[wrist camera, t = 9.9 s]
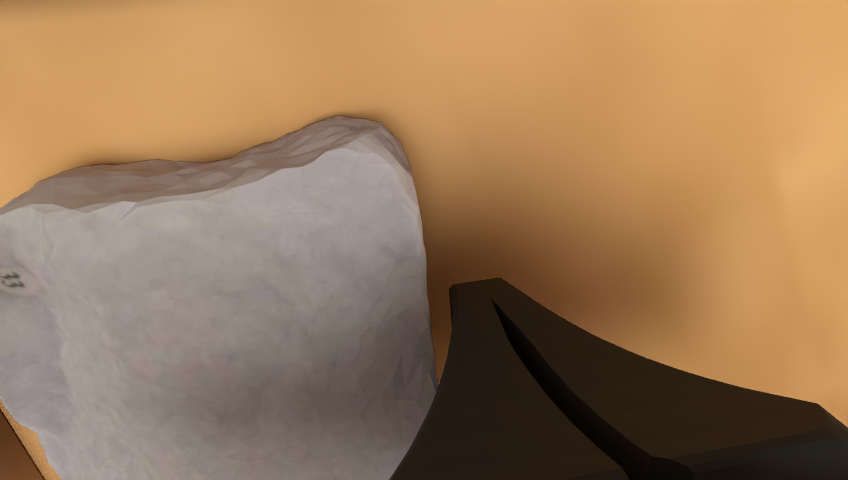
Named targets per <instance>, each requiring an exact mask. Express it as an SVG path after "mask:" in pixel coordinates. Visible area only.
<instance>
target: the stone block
mask: <svg viewBox="0 0 848 480" xmlns="http://www.w3.org/2000/svg"><path fill="white" fill-rule="evenodd" d="M437 389H438V380H437V374H436V368H435V359H434V351H433V341H432V331H431V321H430V311H429V303H428V296H427V263H426V251H425V246H424V239H423V228H422V221H421V215H420V210H419V205H418V200H417V195H416V190H415V186H414V182H413V178H412V175H411V170H410V165H409V161H408V158H407V156H406V155H405V154H404V150H403V146H402V144H401V143H400V142H399V140H398V139H397V138H396V137H395V136H394V135H393V134H392V133H391V132H390V131H389V130H388V129H387V128H386V127H385V126H384V125H383V124H381V123H380V122H376V121H372V120H367V119H359V118H352V117H346V116H341V115H339V116H335V117H332V118H329V119H325V120H322V121H319V122H316V123H313V124H310V125H308V126H306V127H304V128H303V129H301V130H299V131H297V132H292V133H288V134H286V135H284V136H282V137H281V138H279V139H277V140H275V141H272V142H267V143H263V144H260V145H257V146H254V147H251V148H249V149H246V150H244V151H241V152H239V153H238V154H237V155H236V156H235V157H234V158H229V159H224V160H219V161H214V162H210V163H200V162H187V161H170V160H160V159H154V160H146V161H139V162H132V163H127V164H118V165H106V164H99V165H94V166H82V167H78V168H74V169H70V170H67V171H64V172H61V173H59V174H57V175H54V176H52V177H49V178H47V179H44V180H41V181H39V182H38V183H37V184H35V185H34V186H33V187H32V188H31V189H30V190H29V191H27V192H25V193H23V194H21V195H20V196H18V197H16V198H14V199H12V200H11V201H10V202H9V203H7V204H6V205H5V206H3V207H2V208H1V209H0V399H1V401H2V403H3V405H4V407H5V408H6V409H7V410H8V412H9V413H10V414H11V415H12V417H13V418H14V419H15V420H16V421H17V422H18V423H20V424H21V425H22V426H24V427H26V428H28V429H29V430H32V431H34V432H37V436H38V440H39V443H40V444H41V446H42V448H43V449H44V451H45V453H46V460H47V461H48V462H49V464H50V465H51V466H52V468H53V469H54V470H55V471H56V473H57V474H58V475H59V477H60V478H61V480H389V479H390V478H391V476H392V475H393V473H394V472H395V470H396V469H397V467H398V465H399V464H400V462H401V461H402V459H403V458H404V456H405V455H406V453H407V451H408V450H409V448H410V446H411V445H412V443H413V441H414V439H415V437H416V435H417V433H418V431H419V429H420V427H421V425H422V423H423V421H424V420H425V418H426V416H427V413H428V411H429V409H430V406H431V404H432V402H433V399H434V396H435V394H436V391H437Z"/></svg>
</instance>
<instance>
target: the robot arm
mask: <svg viewBox="0 0 848 480" xmlns="http://www.w3.org/2000/svg"><path fill="white" fill-rule="evenodd" d="M449 297H450V308H451V320H452V334H451V340H450V345H449V350H448V355H447V359H446V363H445V367H444V371H443V374H442V377H441V380H440V383H439V386H438V389H437V391H436V394H435V396H434V399H433V402H432V404H431V406H430V409H429V411H428V413H427V416H426V418H425V420H424V421H423V423H422V425H421V427H420V429H419V431H418V433H417V435H416V437H415V439H414V441H413V443H412V445H411V446H410V448H409V450H408V451H407V453H406V455H405V456H404V458H403V459H402V461H401V462H400V464H399V465H398V467H397V469H396V470H395V472H394V473H393V475H392V476H391V478H390V479H389V480H848V428H847V427H846V426H845V425H844V424H842V423H841V422H840V421H839V420H837V419H836V418H835V417H834V416H832V415H831V414H830V413H829V412H827V411H826V410H825V409H824V408H822V407H821V406H820V405H818V404H817V403H812V402H807V401H802V400H798V399H793V398H788V397H783V396H778V395H774V394H769V393H764V392H759V391H755V390H750V389H746V388H742V387H738V386H734V385H730V384H727V383H723V382H719V381H716V380H712V379H708V378H704V377H701V376H698V375H695V374H691V373H688V372H685V371H682V370H679V369H676V368H673V367H670V366H667V365H664V364H661V363H659V362H656V361H653V360H650V359H647V358H645V357H642V356H640V355H637V354H635V353H632V352H630V351H627V350H625V349H623V348H621V347H618V346H616V345H614V344H612V343H609V342H607V341H605V340H603V339H601V338H599V337H597V336H595V335H593V334H591V333H589V332H587V331H585V330H583V329H581V328H579V327H578V326H576V325H574V324H572V323H570V322H568V321H567V320H565V319H563V318H562V317H560V316H558V315H556V314H555V313H553V312H552V311H550V310H548V309H547V308H545V307H544V306H542V305H540V304H539V303H537V302H536V301H534V300H533V299H531V298H530V297H528V296H527V295H525V294H524V293H522V292H521V291H519V290H518V289H516V288H515V287H514V286H512V285H511V284H509V283H508V282H506V281H505V280H503V279H501V278H493V279H487V280H480V281H474V282H467V283H461V284H454V285H452V287H451V288H450V289H449Z"/></svg>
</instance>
